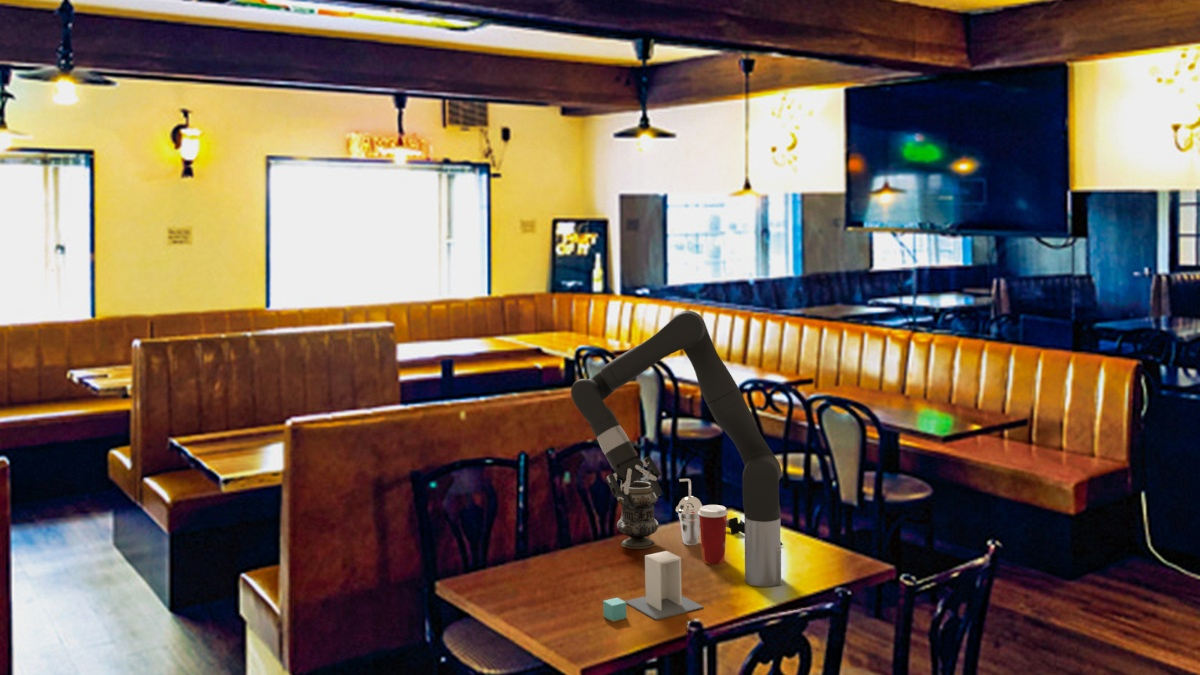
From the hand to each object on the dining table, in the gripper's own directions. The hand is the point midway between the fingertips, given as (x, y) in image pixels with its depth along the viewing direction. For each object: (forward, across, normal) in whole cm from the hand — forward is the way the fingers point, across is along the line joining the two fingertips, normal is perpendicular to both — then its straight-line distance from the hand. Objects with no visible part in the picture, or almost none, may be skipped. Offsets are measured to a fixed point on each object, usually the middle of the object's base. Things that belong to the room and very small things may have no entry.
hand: (647, 501), depth 278 cm
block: (+21, -24, -1) cm, 32 cm away
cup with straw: (+14, +26, +33) cm, 44 cm away
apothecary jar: (+7, +14, +39) cm, 42 cm away
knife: (+19, +42, +31) cm, 56 cm away
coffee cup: (+21, +20, +18) cm, 35 cm away
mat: (+24, -11, -1) cm, 27 cm away
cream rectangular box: (+24, -11, -1) cm, 26 cm away
